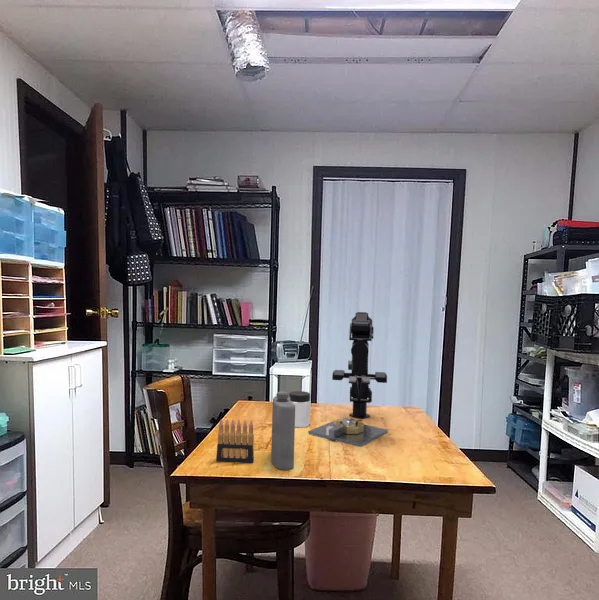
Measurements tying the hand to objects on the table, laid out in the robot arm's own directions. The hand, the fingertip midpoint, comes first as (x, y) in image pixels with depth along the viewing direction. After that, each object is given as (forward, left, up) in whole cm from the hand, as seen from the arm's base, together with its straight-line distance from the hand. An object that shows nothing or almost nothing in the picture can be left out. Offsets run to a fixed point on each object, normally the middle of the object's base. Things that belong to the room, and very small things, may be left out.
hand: (358, 400), depth 150 cm
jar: (+1, -25, -13) cm, 28 cm away
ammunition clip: (+44, -17, -13) cm, 49 cm away
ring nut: (+1, -5, -12) cm, 13 cm away
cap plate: (-2, -5, -13) cm, 14 cm away
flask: (+35, -7, -13) cm, 38 cm away
